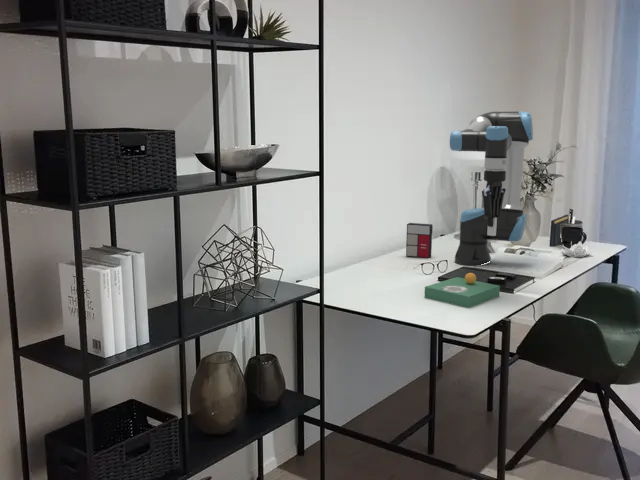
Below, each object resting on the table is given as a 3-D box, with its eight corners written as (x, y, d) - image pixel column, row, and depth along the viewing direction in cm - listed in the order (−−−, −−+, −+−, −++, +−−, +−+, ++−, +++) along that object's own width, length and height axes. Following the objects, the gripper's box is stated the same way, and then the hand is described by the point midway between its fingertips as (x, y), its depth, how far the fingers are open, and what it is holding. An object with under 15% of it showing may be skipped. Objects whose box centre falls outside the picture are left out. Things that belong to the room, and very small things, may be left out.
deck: (424, 297, 235) (424, 286, 234) (456, 287, 248) (456, 276, 248) (468, 308, 222) (468, 296, 221) (499, 296, 236) (499, 285, 235)
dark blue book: (552, 251, 313) (555, 219, 310) (548, 250, 314) (551, 219, 311) (568, 245, 328) (571, 214, 325) (564, 244, 329) (567, 214, 326)
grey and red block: (405, 256, 301) (406, 224, 298) (408, 254, 305) (408, 222, 302) (429, 258, 296) (430, 225, 294) (431, 256, 300) (432, 224, 298)
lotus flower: (593, 265, 284) (594, 245, 283) (556, 262, 290) (557, 243, 288) (592, 258, 297) (594, 239, 296) (557, 256, 303) (558, 237, 301)
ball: (462, 283, 238) (462, 272, 237) (468, 281, 241) (469, 271, 240) (472, 285, 235) (472, 274, 234) (478, 283, 238) (478, 272, 237)
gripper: (495, 171, 229) (491, 238, 233) (513, 169, 238) (509, 234, 242) (476, 170, 234) (472, 236, 238) (494, 168, 243) (491, 231, 247)
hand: (491, 235), depth 240 cm, fingers closed
